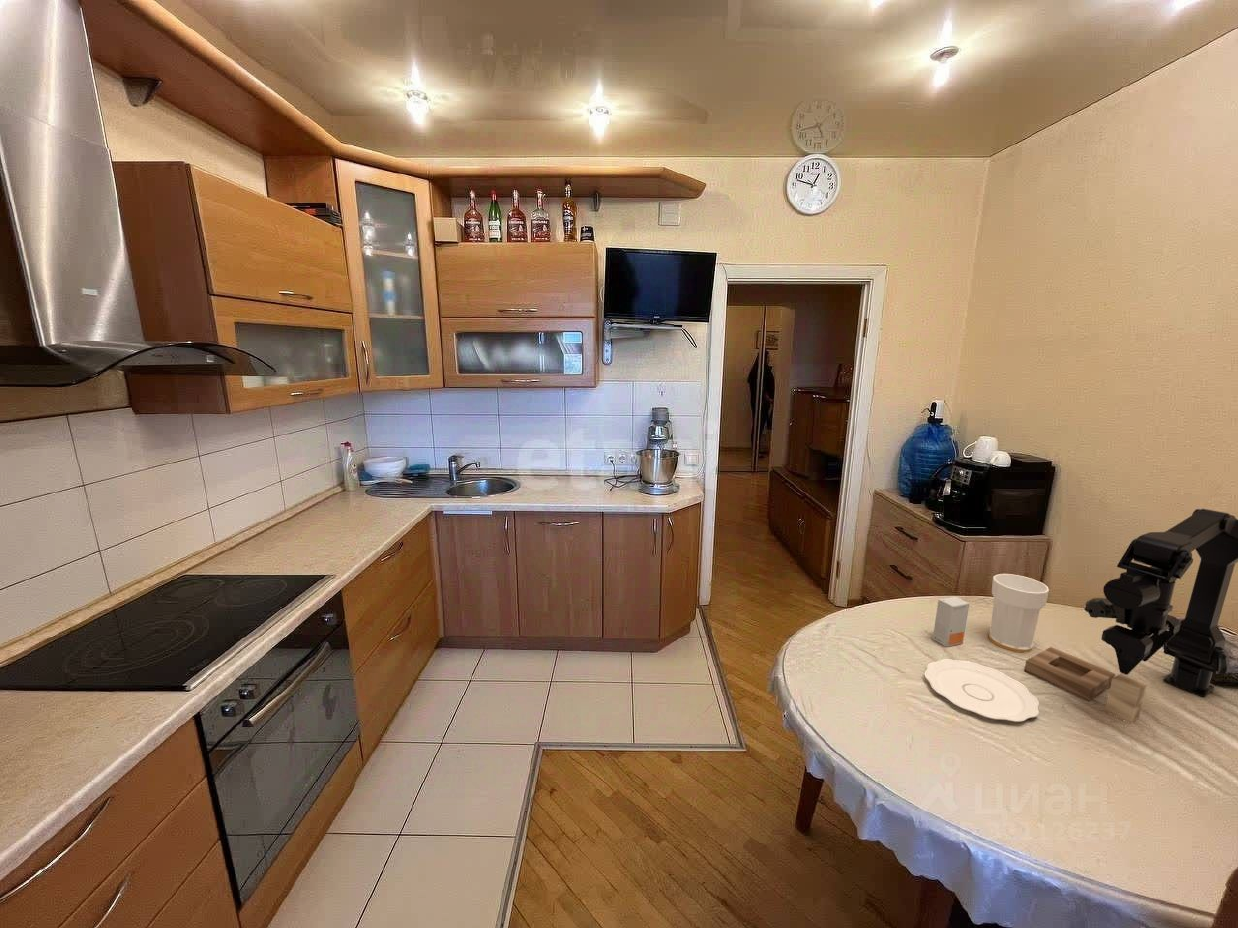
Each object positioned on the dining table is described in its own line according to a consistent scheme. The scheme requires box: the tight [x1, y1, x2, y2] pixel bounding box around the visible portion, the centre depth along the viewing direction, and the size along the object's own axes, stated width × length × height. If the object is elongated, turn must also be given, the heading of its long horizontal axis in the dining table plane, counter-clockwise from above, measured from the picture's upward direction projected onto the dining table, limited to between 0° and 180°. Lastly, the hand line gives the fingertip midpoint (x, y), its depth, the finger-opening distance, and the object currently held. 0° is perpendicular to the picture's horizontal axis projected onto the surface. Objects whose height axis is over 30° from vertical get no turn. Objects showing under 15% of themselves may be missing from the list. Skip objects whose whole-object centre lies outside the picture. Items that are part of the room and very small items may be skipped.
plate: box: [923, 658, 1040, 723], centre depth 109 cm, size 21×21×2 cm
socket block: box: [1024, 646, 1116, 702], centre depth 113 cm, size 12×12×3 cm
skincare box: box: [932, 596, 970, 648], centre depth 128 cm, size 6×4×12 cm
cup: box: [988, 573, 1050, 653], centre depth 126 cm, size 11×11×17 cm
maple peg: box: [1104, 672, 1147, 724], centre depth 101 cm, size 4×4×8 cm
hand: (1133, 666), depth 99 cm, fingers open, 9 cm apart
